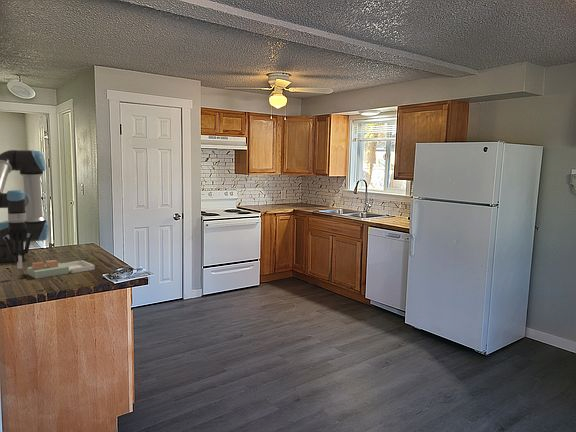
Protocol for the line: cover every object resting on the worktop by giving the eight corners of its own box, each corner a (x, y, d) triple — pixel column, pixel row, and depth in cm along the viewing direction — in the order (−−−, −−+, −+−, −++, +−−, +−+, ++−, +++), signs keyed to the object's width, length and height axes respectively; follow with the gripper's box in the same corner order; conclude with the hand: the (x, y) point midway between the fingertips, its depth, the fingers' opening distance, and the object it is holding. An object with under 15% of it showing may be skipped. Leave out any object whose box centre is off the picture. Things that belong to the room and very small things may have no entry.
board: (27, 273, 227) (26, 267, 227) (59, 268, 239) (59, 262, 238) (36, 278, 218) (35, 272, 218) (69, 273, 230) (68, 266, 230)
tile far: (45, 266, 229) (45, 260, 229) (55, 265, 233) (54, 259, 232) (49, 268, 226) (48, 262, 226) (58, 266, 230) (58, 261, 229)
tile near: (32, 268, 225) (32, 262, 224) (41, 267, 228) (41, 261, 228) (35, 270, 222) (35, 264, 221) (44, 268, 225) (44, 262, 225)
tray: (59, 268, 240) (59, 263, 240) (82, 264, 249) (82, 260, 249) (71, 273, 229) (70, 269, 229) (94, 269, 239) (94, 265, 238)
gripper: (4, 223, 208) (7, 271, 211) (34, 221, 218) (36, 267, 220) (-1, 221, 213) (2, 268, 216) (29, 219, 223) (31, 264, 225)
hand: (19, 268), depth 218 cm, fingers closed
